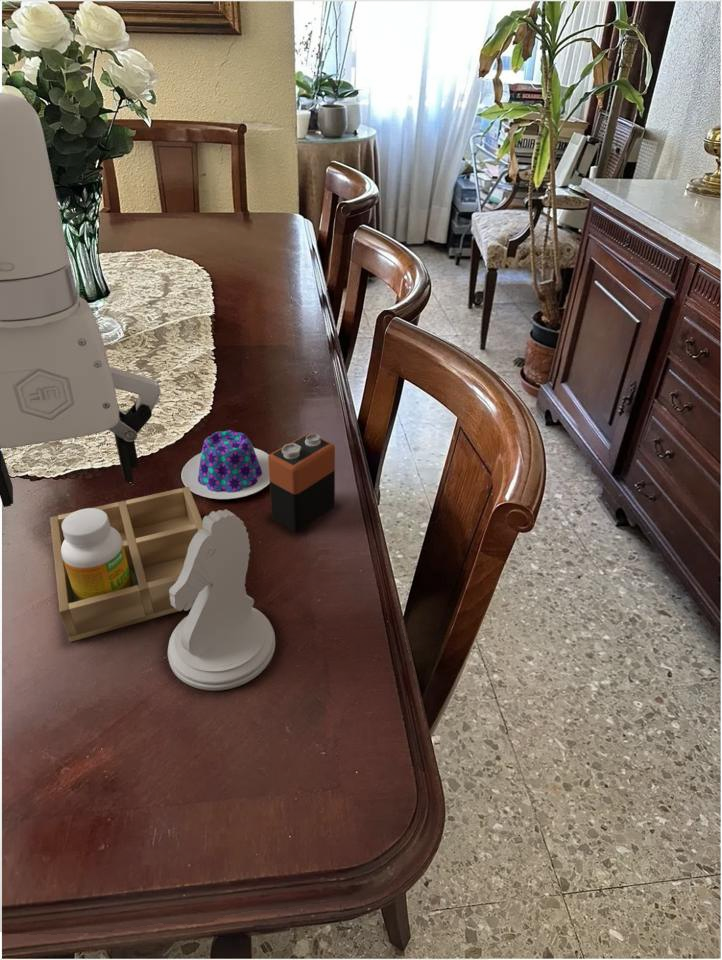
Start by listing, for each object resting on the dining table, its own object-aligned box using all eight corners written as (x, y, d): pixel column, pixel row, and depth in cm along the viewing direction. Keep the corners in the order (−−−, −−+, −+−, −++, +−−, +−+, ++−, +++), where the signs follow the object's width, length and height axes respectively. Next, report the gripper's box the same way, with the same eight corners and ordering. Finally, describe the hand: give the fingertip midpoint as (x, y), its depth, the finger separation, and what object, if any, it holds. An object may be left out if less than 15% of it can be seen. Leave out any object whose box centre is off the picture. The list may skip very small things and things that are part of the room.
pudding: (171, 463, 87) (165, 428, 84) (258, 442, 91) (255, 409, 88) (197, 514, 78) (191, 478, 75) (291, 488, 83) (290, 453, 80)
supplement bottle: (125, 618, 63) (104, 541, 58) (68, 616, 63) (43, 539, 58) (141, 578, 68) (123, 503, 62) (88, 577, 68) (66, 502, 62)
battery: (270, 519, 77) (265, 447, 72) (310, 493, 82) (308, 423, 76) (297, 535, 75) (294, 462, 69) (336, 508, 80) (336, 437, 74)
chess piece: (146, 651, 61) (115, 526, 52) (227, 593, 67) (211, 473, 59) (216, 710, 56) (195, 583, 48) (297, 642, 62) (291, 518, 54)
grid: (70, 642, 62) (59, 611, 60) (58, 546, 73) (49, 517, 70) (225, 597, 67) (221, 568, 65) (193, 514, 78) (188, 486, 76)
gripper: (-129, 322, 42) (-46, 534, 51) (151, 294, 48) (179, 488, 58) (-114, 286, 47) (-41, 483, 57) (135, 265, 54) (163, 446, 63)
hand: (69, 485), depth 57 cm, fingers open, 9 cm apart
